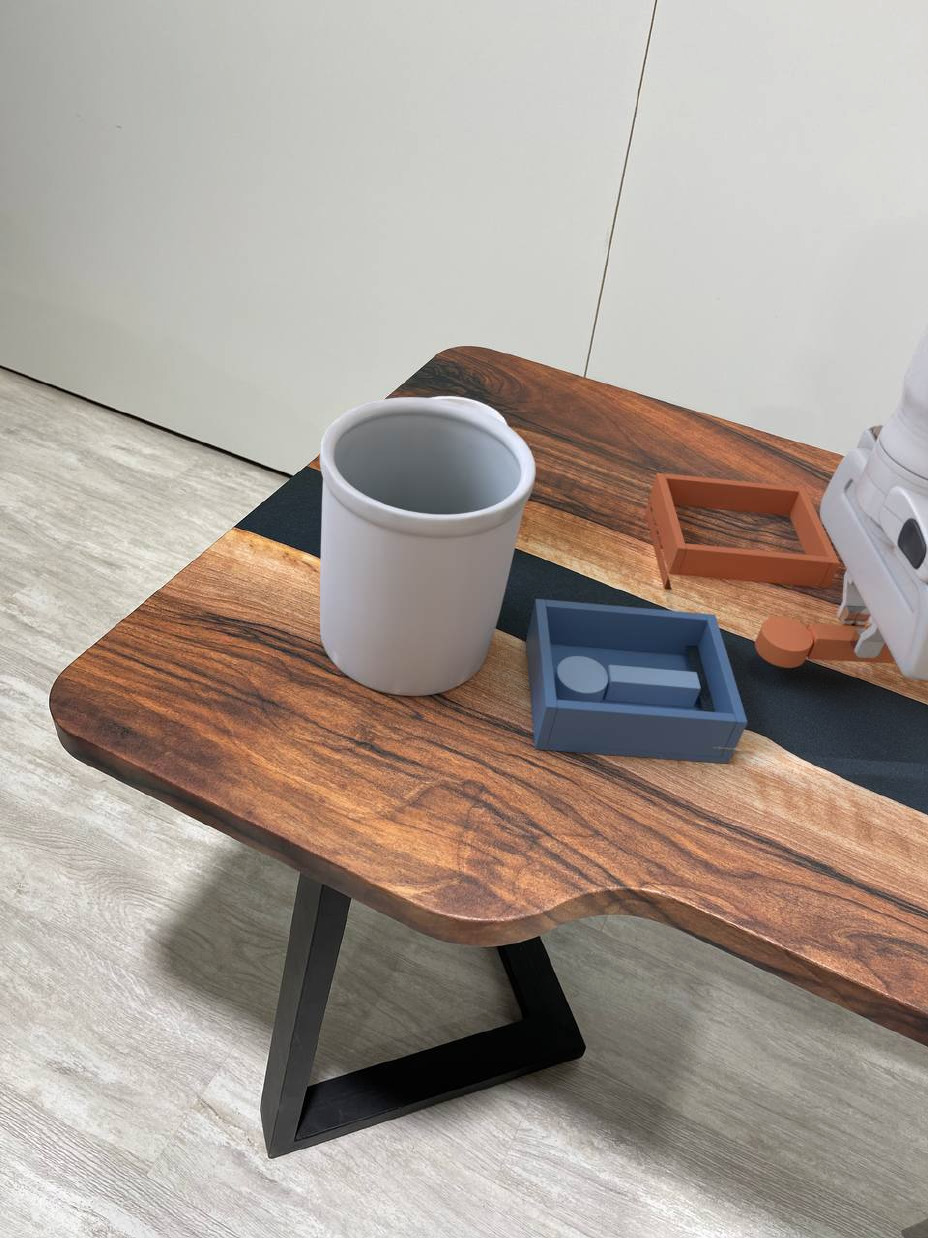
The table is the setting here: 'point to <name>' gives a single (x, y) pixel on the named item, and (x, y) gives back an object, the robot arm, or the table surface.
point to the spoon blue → (624, 683)
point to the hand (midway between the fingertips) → (855, 638)
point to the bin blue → (634, 644)
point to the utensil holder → (417, 540)
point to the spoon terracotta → (809, 643)
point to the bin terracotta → (734, 561)
